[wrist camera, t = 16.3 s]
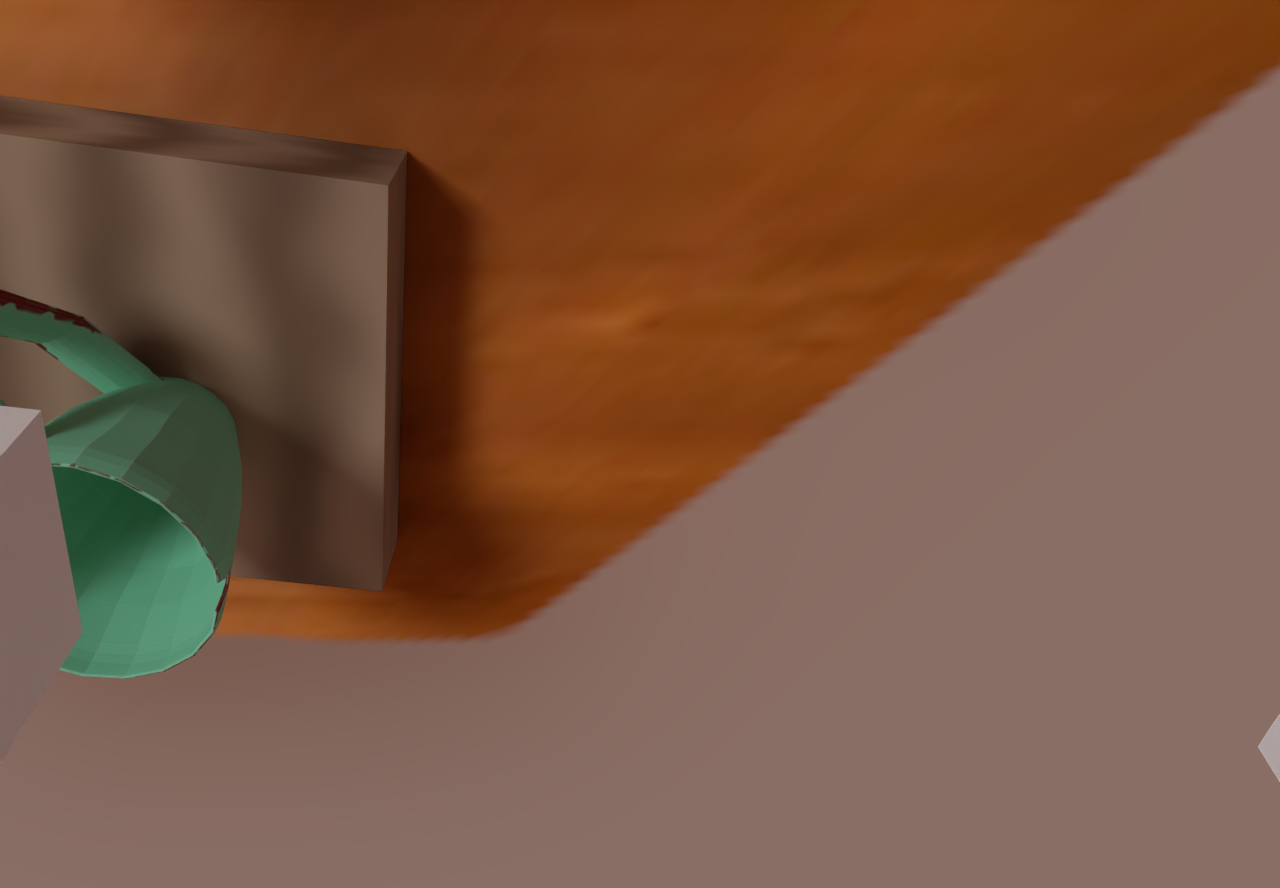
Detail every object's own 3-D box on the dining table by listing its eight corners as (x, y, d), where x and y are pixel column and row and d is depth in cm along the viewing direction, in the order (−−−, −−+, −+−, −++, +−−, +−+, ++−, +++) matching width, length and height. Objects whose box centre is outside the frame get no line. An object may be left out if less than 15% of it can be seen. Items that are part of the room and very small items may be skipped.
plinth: (407, 151, 44) (388, 185, 40) (397, 539, 54) (382, 591, 51) (-112, 80, 42) (-176, 110, 39) (-16, 494, 53) (-60, 546, 50)
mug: (339, 476, 48) (276, 635, 39) (153, 544, 50) (55, 708, 41) (133, 176, 40) (0, 292, 32) (-76, 271, 42) (-253, 403, 34)
